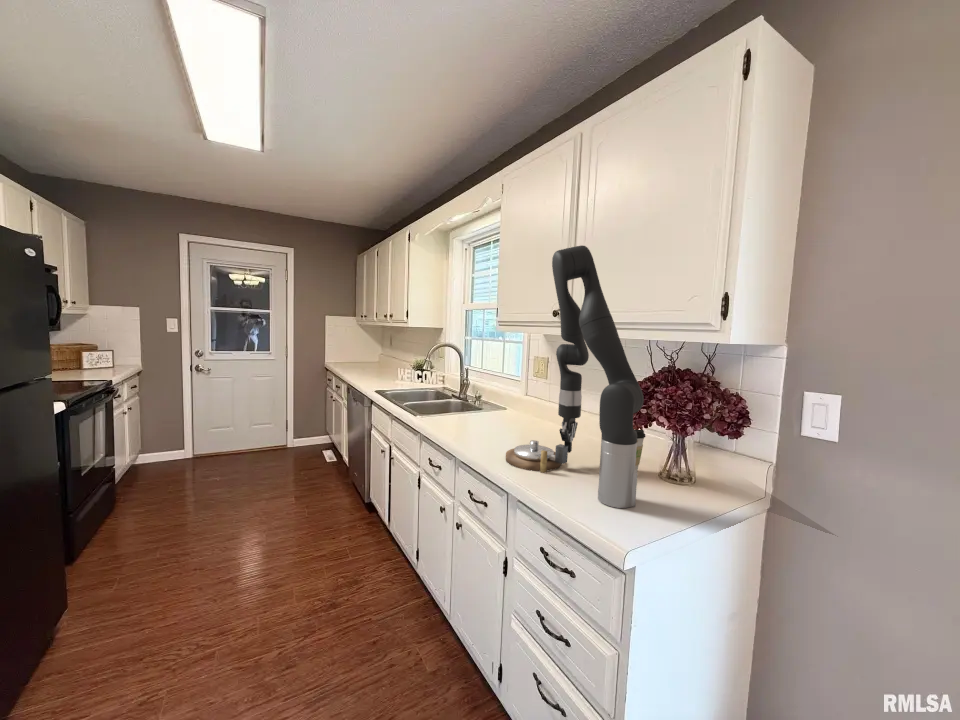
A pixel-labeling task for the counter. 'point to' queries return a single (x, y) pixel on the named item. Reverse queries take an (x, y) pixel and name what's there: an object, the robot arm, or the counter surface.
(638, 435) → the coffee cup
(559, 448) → the flange plate
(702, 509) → the counter surface
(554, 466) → the base
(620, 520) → the counter surface
